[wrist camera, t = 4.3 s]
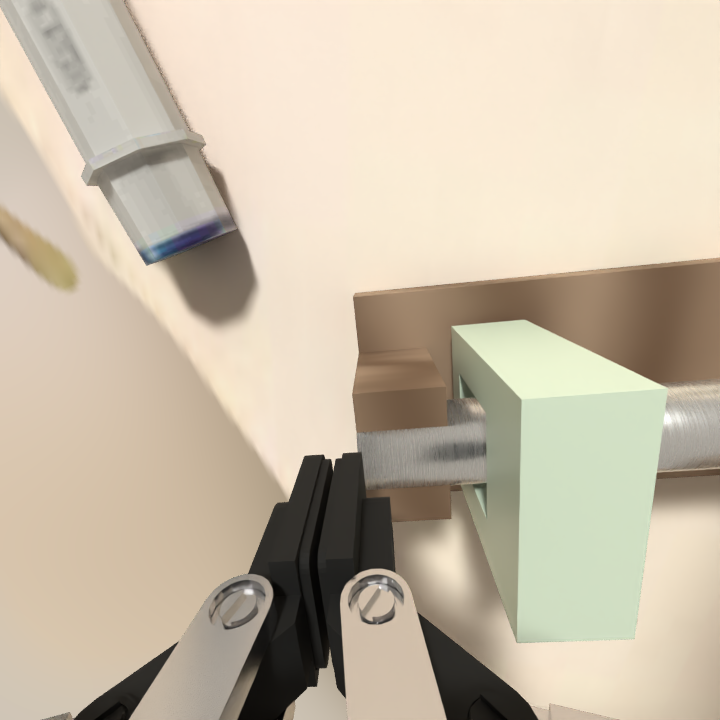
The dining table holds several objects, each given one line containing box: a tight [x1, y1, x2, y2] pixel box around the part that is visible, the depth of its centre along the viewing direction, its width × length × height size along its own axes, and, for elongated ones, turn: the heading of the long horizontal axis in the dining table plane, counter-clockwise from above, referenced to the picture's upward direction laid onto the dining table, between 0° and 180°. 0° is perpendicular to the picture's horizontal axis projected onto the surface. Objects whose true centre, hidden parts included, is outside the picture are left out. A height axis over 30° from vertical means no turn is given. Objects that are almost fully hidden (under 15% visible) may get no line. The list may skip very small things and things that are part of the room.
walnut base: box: [352, 258, 720, 522], centre depth 15 cm, size 24×10×6 cm, turn 96°
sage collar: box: [451, 320, 668, 643], centre depth 13 cm, size 3×7×8 cm, turn 6°
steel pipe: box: [357, 379, 720, 490], centre depth 13 cm, size 24×5×5 cm, turn 96°
